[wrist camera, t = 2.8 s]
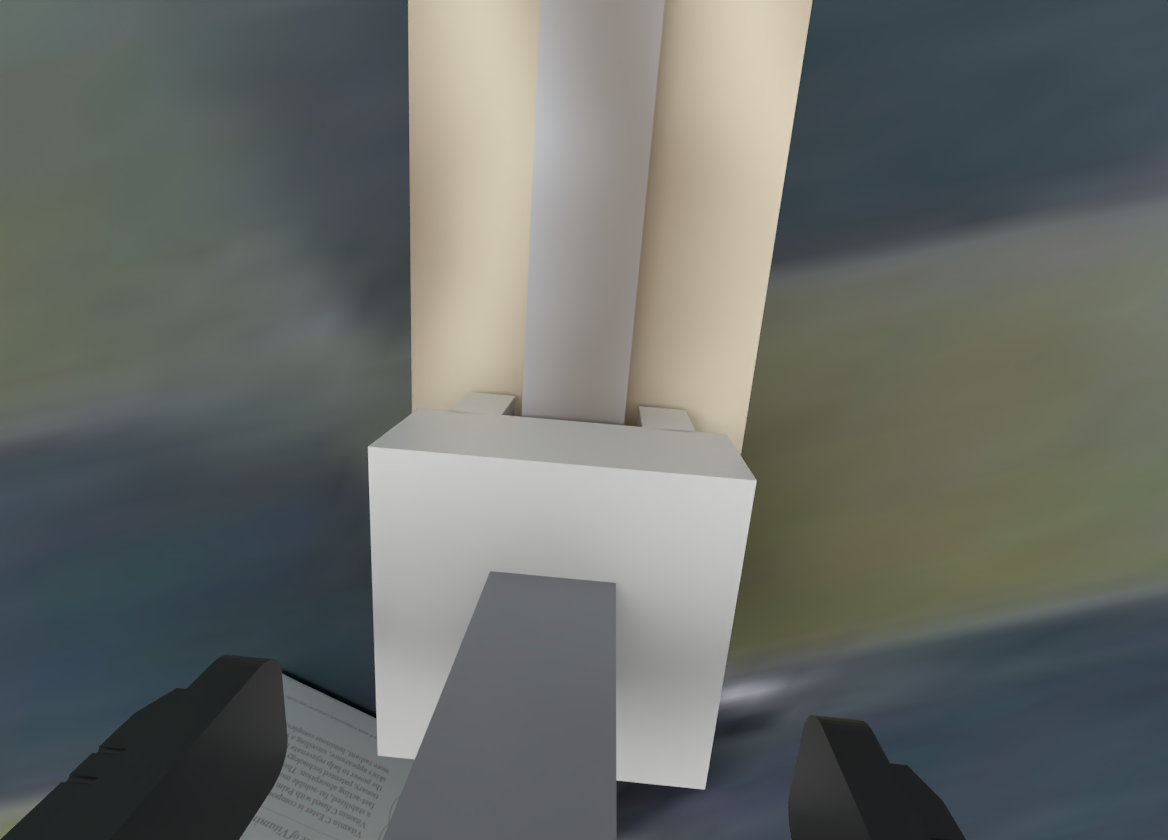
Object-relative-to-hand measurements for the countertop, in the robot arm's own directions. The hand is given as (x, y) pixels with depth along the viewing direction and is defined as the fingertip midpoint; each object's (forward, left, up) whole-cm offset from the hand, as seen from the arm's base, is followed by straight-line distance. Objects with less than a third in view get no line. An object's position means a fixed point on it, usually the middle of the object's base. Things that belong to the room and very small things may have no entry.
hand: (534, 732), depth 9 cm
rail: (0, +4, -9) cm, 10 cm away
